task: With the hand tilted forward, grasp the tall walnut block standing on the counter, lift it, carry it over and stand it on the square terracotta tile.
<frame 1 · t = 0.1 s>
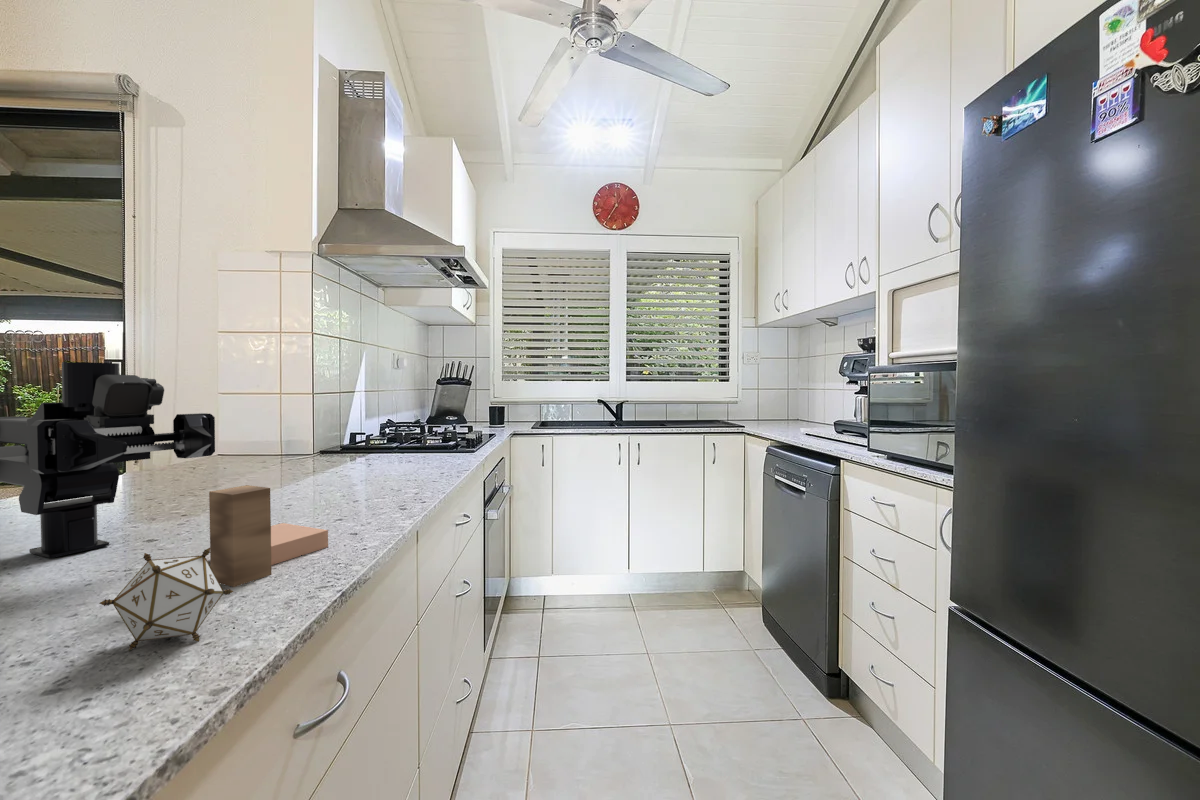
hand: (170, 443, 65), 17 cm above the countertop, tool horizontal, fingers open, 9 cm apart
terracotta tile: (272, 552, 74), on the countertop
walnut block: (241, 577, 64), on the countertop
game die: (172, 640, 49), on the countertop
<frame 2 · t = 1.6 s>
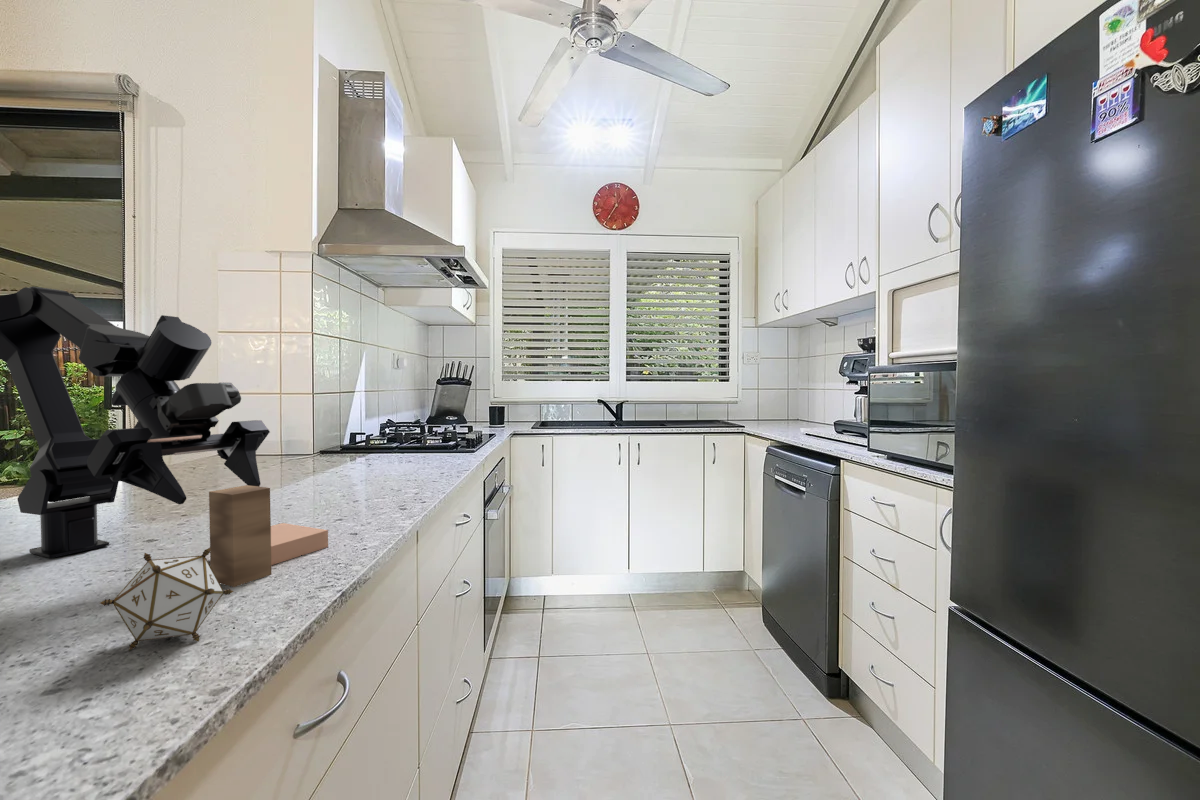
hand: (223, 493, 65), 10 cm above the countertop, tool tilted 45°, fingers open, 9 cm apart
nothing on the countertop moved.
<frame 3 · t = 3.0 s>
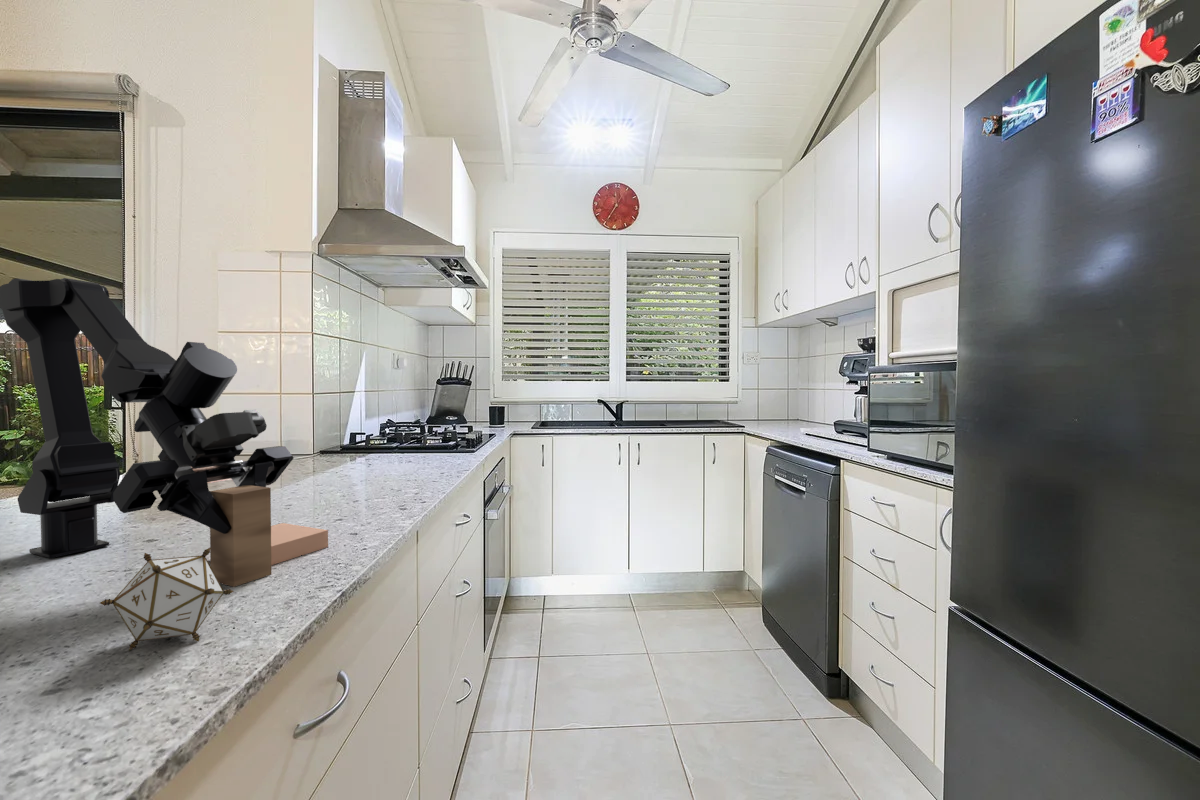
hand: (248, 525, 64), 7 cm above the countertop, tool tilted 45°, fingers closed on walnut block, 5 cm apart
walnut block: (241, 577, 64), on the countertop, touching gripper
everything else where it was.
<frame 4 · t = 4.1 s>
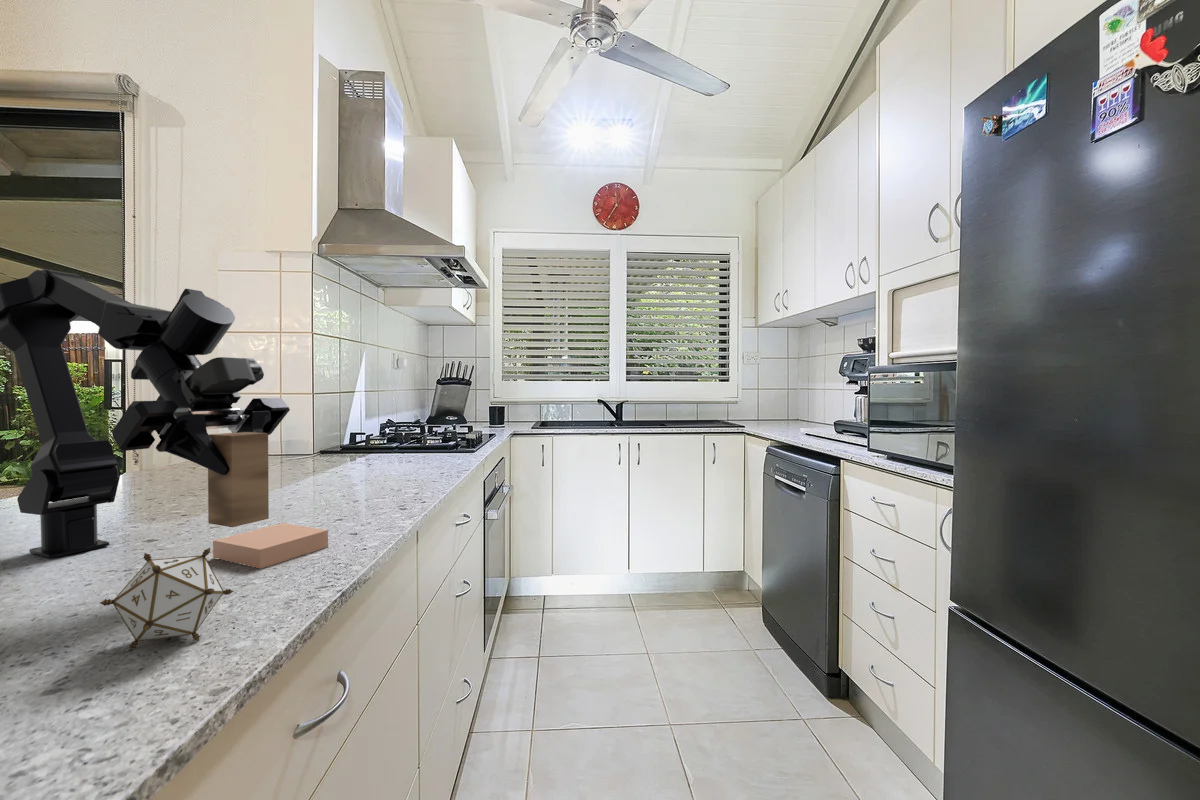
hand: (246, 469, 65), 13 cm above the countertop, tool tilted 45°, fingers closed on walnut block, 5 cm apart
walnut block: (239, 521, 65), point 7 cm above the countertop, touching gripper
everything else where it was.
when the fingers open (10 cm above the countertop, at t = 5.6 s): walnut block stays where it is, resting on terracotta tile.
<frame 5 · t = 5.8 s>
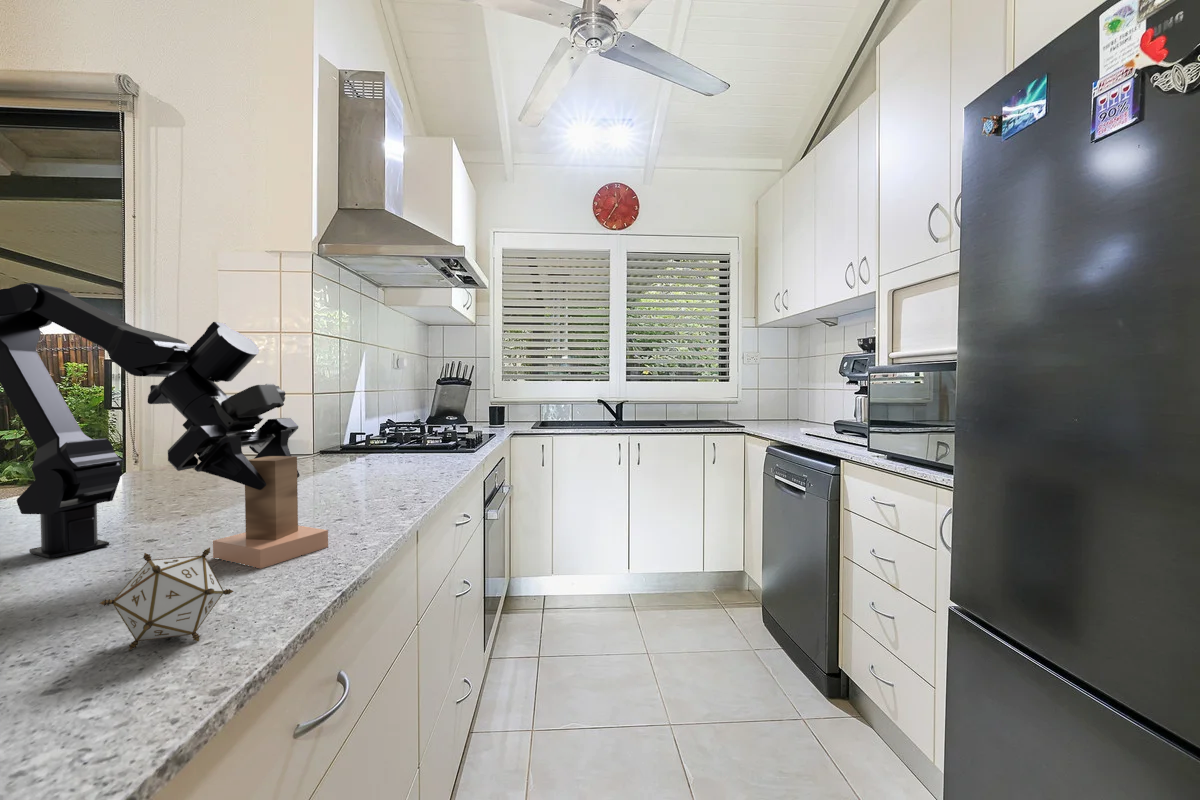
hand: (281, 482, 74), 10 cm above the countertop, tool tilted 45°, fingers open, 7 cm apart
walnut block: (272, 535, 74), point 2 cm above the countertop, touching terracotta tile
everything else where it was.
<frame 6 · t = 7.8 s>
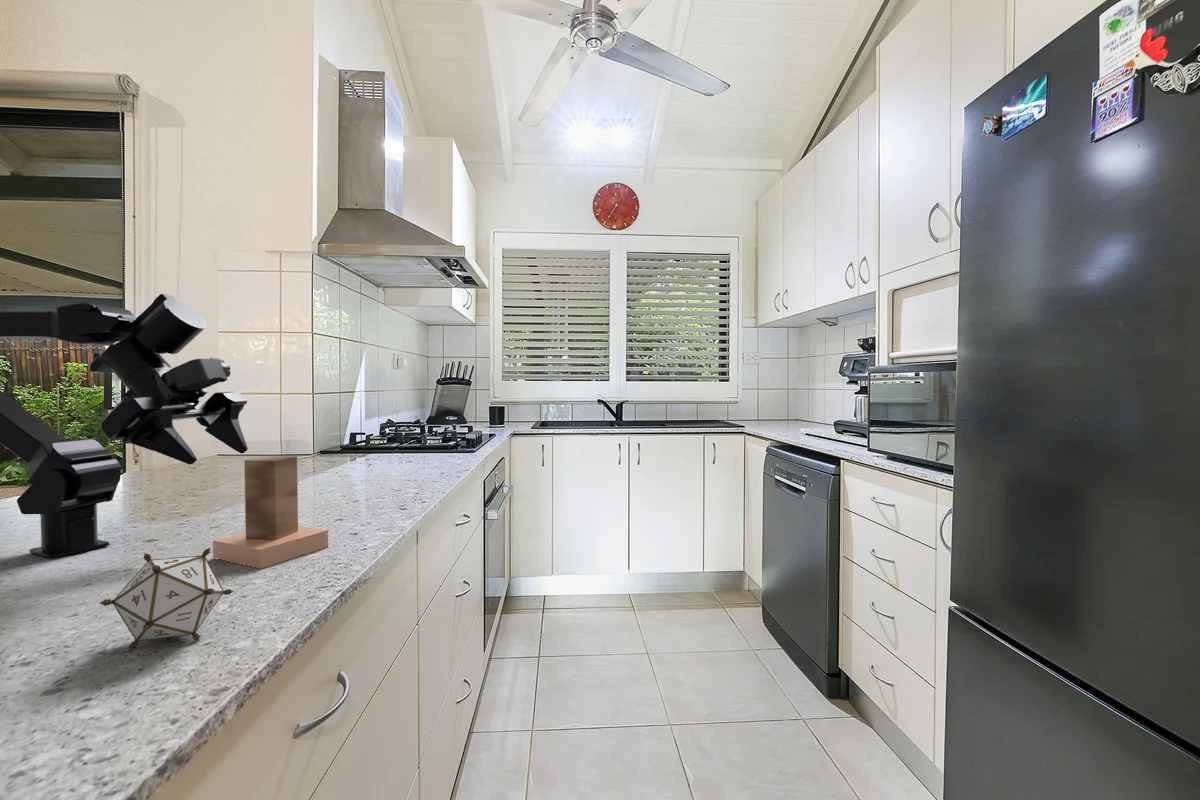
hand: (221, 456, 74), 14 cm above the countertop, tool tilted 40°, fingers open, 9 cm apart
nothing on the countertop moved.
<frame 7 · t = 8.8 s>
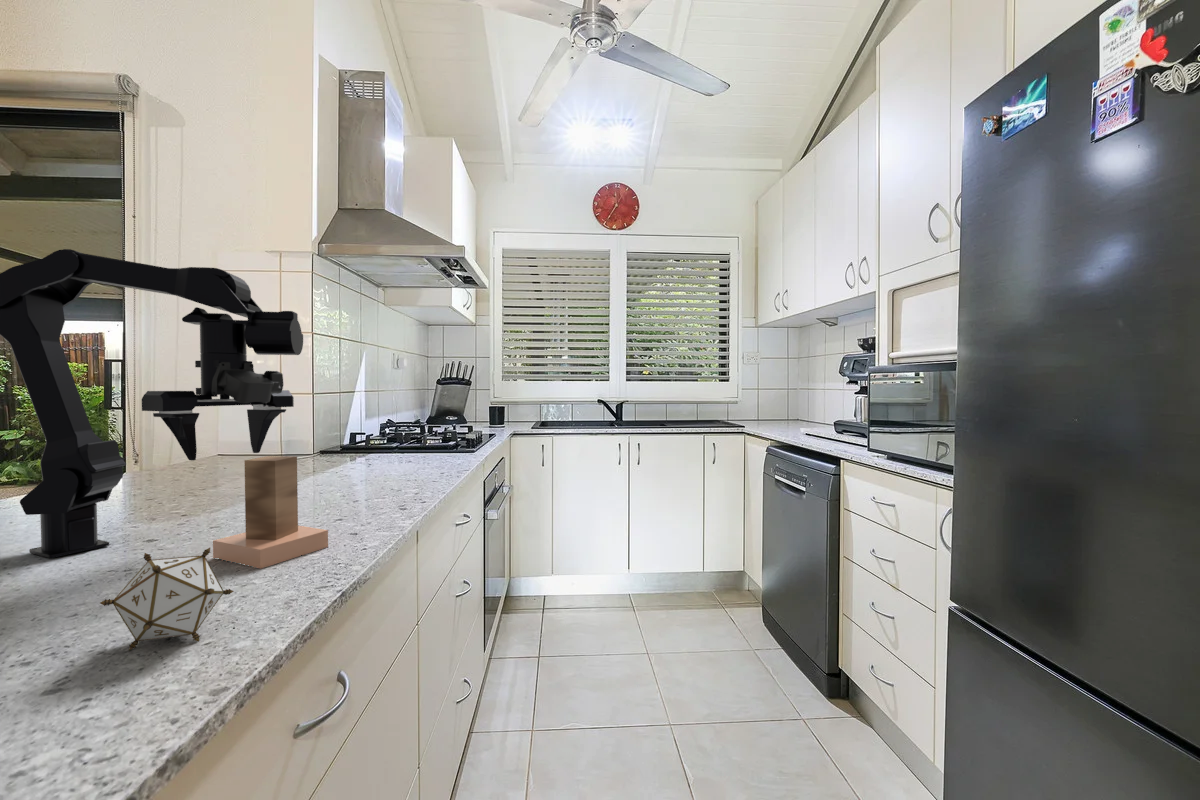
hand: (225, 456, 79), 13 cm above the countertop, tool pointing down, fingers open, 9 cm apart
nothing on the countertop moved.
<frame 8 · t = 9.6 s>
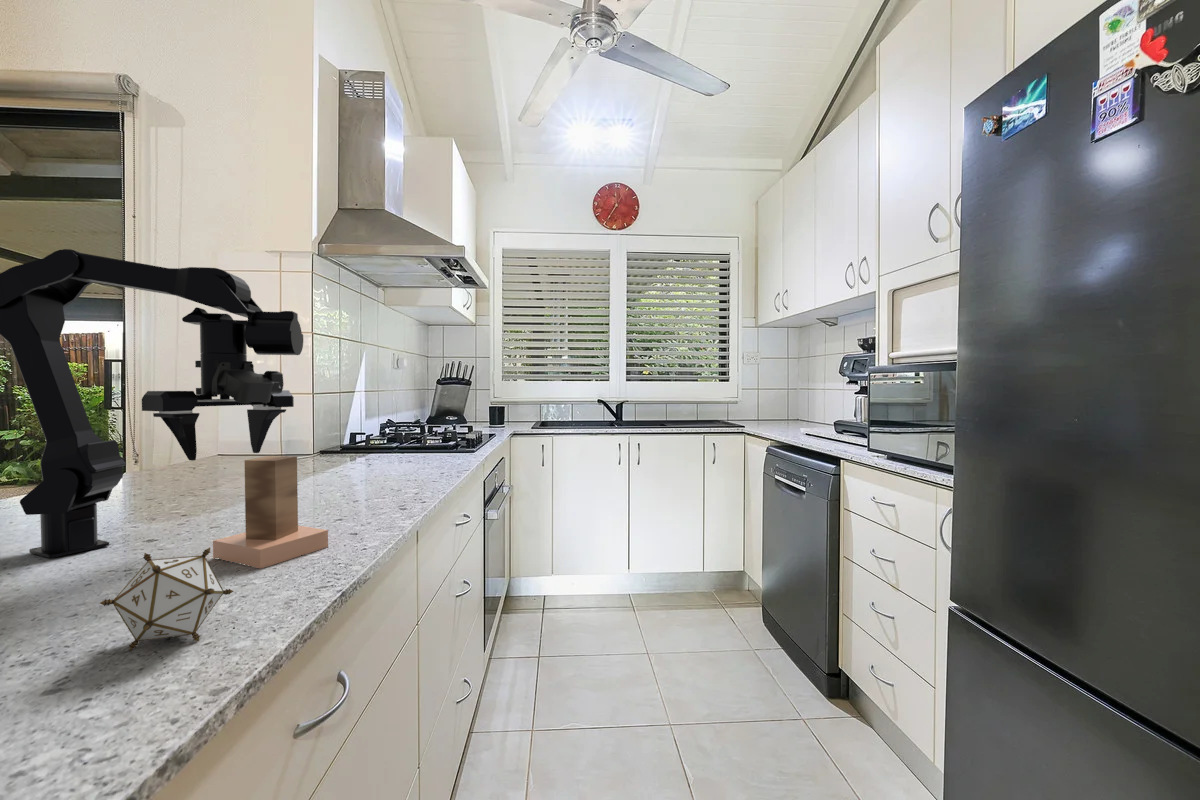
hand: (225, 456, 79), 13 cm above the countertop, tool pointing down, fingers open, 9 cm apart
nothing on the countertop moved.
at the end: walnut block inside the target area on the terracotta tile (0.0 cm from its centre), point 2.5 cm above the terracotta tile's base; walnut block tilted 0°; the gripper is holding nothing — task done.
